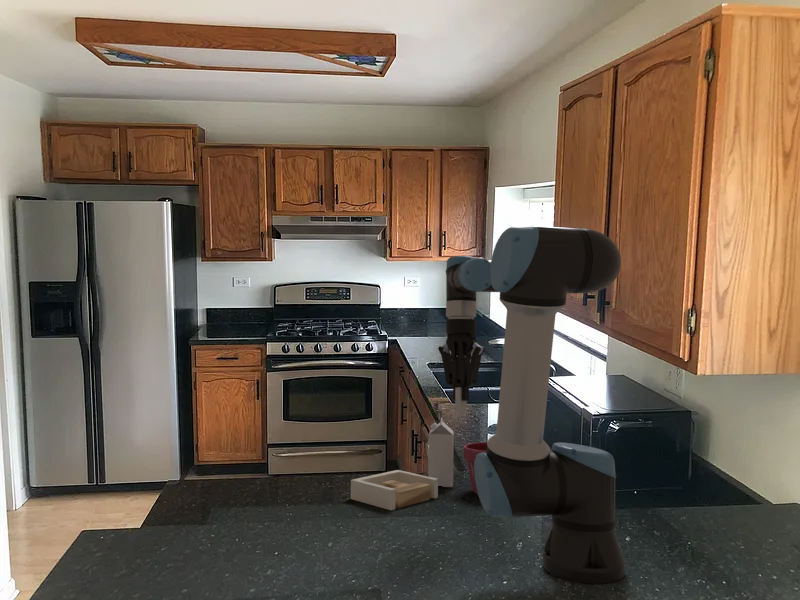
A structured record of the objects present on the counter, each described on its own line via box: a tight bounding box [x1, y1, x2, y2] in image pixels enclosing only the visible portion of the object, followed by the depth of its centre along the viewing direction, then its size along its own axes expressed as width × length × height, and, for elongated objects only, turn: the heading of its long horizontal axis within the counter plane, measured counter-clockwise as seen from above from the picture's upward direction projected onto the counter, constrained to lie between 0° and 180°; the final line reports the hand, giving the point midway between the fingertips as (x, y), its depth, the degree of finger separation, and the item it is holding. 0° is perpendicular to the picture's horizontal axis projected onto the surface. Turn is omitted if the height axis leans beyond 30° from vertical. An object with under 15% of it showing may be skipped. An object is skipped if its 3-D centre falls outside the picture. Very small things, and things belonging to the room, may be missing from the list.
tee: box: [382, 480, 431, 509], centre depth 172 cm, size 10×12×4 cm
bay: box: [350, 469, 439, 511], centre depth 174 cm, size 15×18×5 cm
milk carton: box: [427, 417, 455, 488], centre depth 190 cm, size 7×7×19 cm
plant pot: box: [463, 441, 488, 495], centre depth 182 cm, size 14×14×13 cm
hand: (461, 413), depth 160 cm, fingers closed
